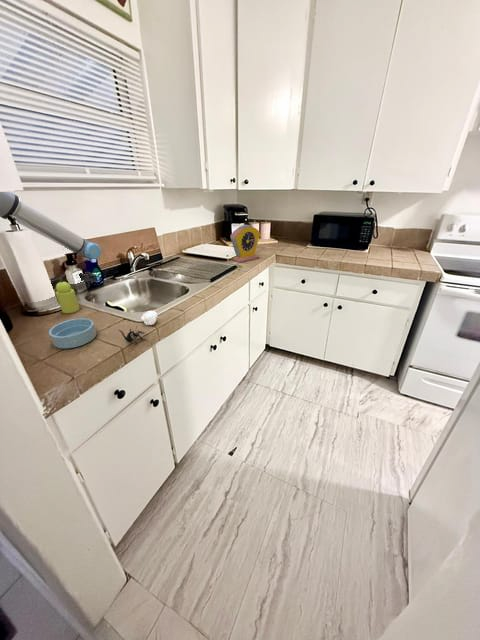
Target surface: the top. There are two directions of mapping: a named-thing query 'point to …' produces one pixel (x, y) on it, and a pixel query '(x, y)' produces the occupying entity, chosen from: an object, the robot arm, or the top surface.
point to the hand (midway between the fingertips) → (69, 287)
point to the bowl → (72, 333)
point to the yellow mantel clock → (245, 243)
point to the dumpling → (149, 317)
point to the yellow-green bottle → (66, 297)
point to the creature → (131, 335)
